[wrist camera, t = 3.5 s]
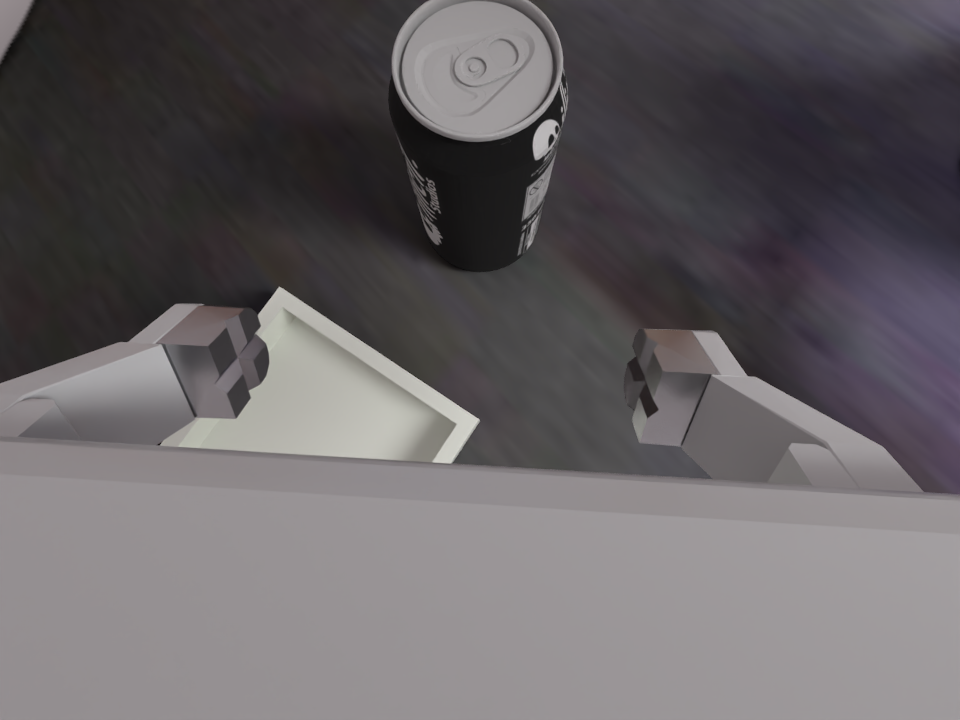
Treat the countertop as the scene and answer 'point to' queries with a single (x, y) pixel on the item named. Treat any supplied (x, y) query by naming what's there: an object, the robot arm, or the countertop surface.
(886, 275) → the countertop surface
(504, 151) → the beverage can
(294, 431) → the tray
